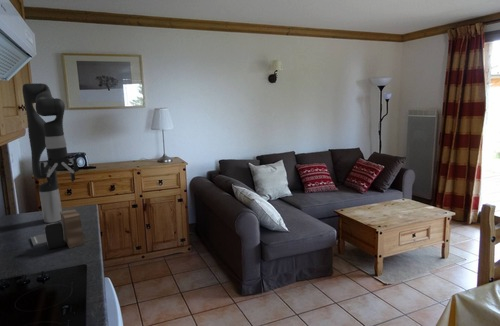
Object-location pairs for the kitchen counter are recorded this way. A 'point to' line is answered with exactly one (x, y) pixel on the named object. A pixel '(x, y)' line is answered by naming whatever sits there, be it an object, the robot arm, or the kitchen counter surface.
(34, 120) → the robot arm
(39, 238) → the charging pad
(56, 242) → the battery charger
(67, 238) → the brown rectangular block
